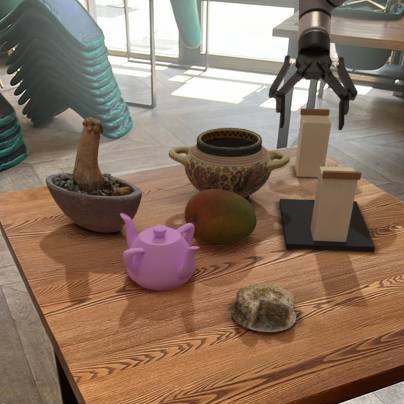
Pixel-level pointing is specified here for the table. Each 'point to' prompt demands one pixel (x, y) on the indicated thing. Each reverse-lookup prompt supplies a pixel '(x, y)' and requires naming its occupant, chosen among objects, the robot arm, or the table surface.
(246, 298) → the cake
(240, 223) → the fruit
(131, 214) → the planter
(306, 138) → the cream rectangular block
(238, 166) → the ceramic bowl
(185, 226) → the teapot
